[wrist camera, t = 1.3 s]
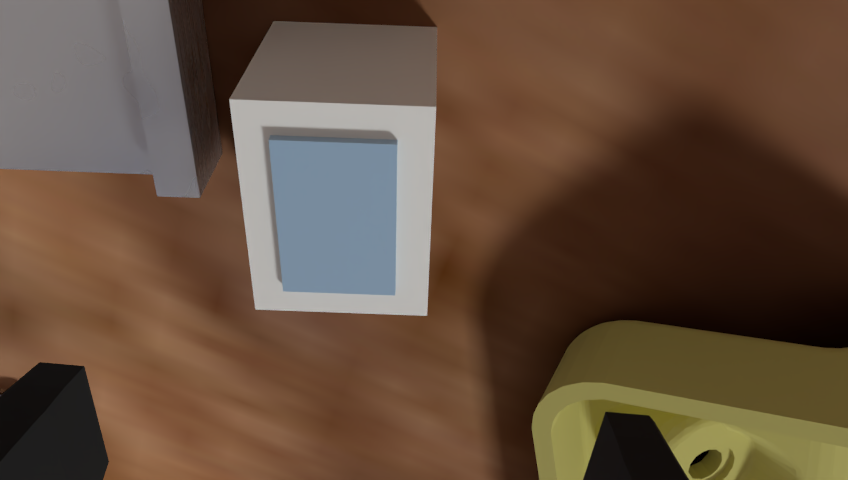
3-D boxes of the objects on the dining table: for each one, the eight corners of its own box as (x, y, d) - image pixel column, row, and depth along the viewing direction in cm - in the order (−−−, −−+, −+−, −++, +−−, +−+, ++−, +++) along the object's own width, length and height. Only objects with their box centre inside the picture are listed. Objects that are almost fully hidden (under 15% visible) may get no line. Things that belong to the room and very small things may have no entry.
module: (289, 202, 20) (253, 315, 16) (274, 19, 17) (226, 103, 14) (429, 207, 20) (426, 321, 16) (437, 25, 17) (436, 111, 14)
